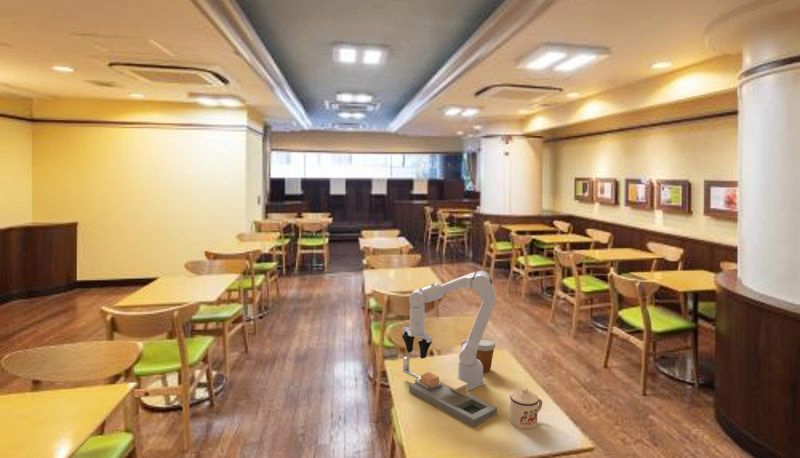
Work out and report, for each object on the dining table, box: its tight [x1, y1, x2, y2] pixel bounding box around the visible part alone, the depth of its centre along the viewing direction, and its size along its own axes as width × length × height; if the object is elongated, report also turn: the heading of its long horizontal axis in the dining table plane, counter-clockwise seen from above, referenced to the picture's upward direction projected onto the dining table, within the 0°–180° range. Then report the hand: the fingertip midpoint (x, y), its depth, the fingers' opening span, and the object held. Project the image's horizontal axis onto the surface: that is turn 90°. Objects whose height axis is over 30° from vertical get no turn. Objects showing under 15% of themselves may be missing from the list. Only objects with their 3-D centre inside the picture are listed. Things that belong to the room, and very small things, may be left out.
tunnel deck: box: [408, 375, 498, 428], centre depth 168 cm, size 31×12×7 cm, turn 41°
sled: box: [402, 356, 442, 390], centre depth 180 cm, size 18×6×6 cm, turn 41°
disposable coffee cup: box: [476, 337, 496, 374], centre depth 195 cm, size 10×10×12 cm
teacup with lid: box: [509, 387, 543, 430], centre depth 156 cm, size 12×9×12 cm
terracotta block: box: [420, 371, 440, 386], centre depth 176 cm, size 5×4×4 cm
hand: (416, 354), depth 185 cm, fingers open, 7 cm apart
